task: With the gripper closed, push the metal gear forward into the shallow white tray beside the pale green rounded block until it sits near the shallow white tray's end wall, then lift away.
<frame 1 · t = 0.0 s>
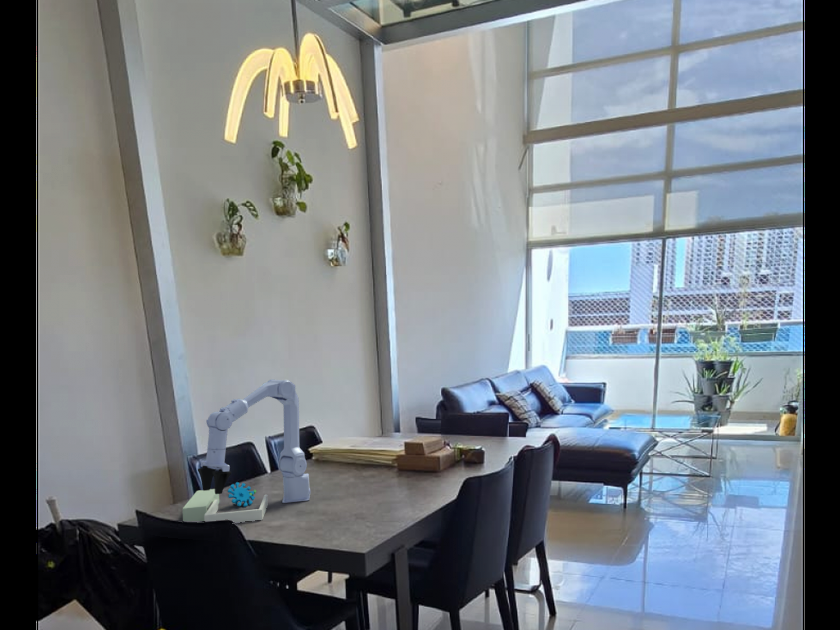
hand: (212, 492, 191), 11 cm above the table, tool pointing down, fingers open, 7 cm apart
pale green rounded block: (202, 512, 205), on the table
gear: (243, 505, 211), on the table
shallow white tray: (238, 514, 200), on the table
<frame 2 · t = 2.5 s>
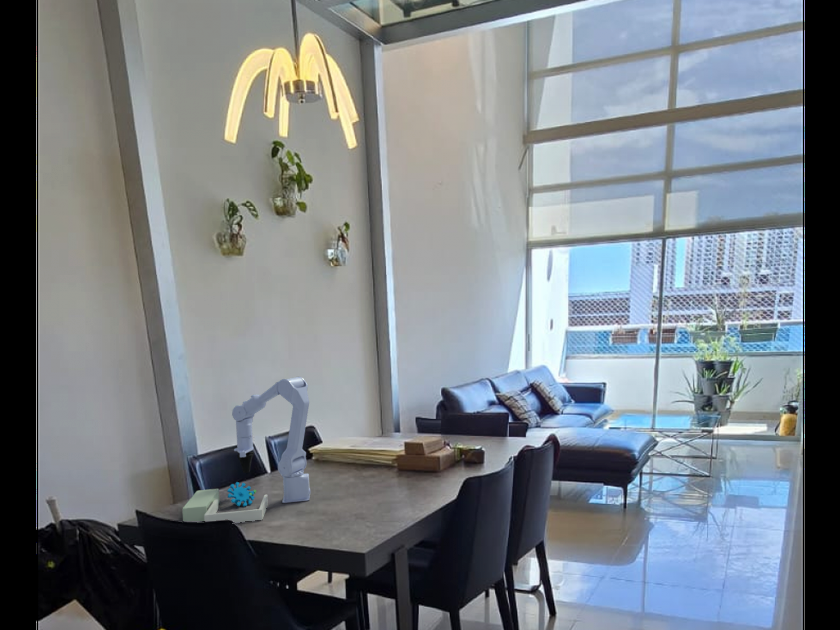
hand: (246, 472, 223), 9 cm above the table, tool pointing down, fingers closed
nothing on the table moved.
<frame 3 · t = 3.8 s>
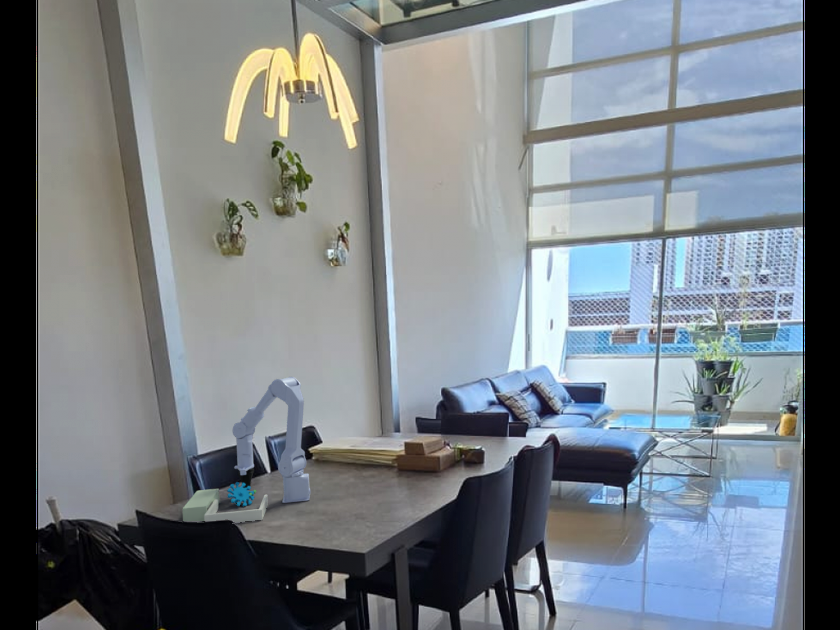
hand: (246, 489, 222), 2 cm above the table, tool pointing down, fingers closed
nothing on the table moved.
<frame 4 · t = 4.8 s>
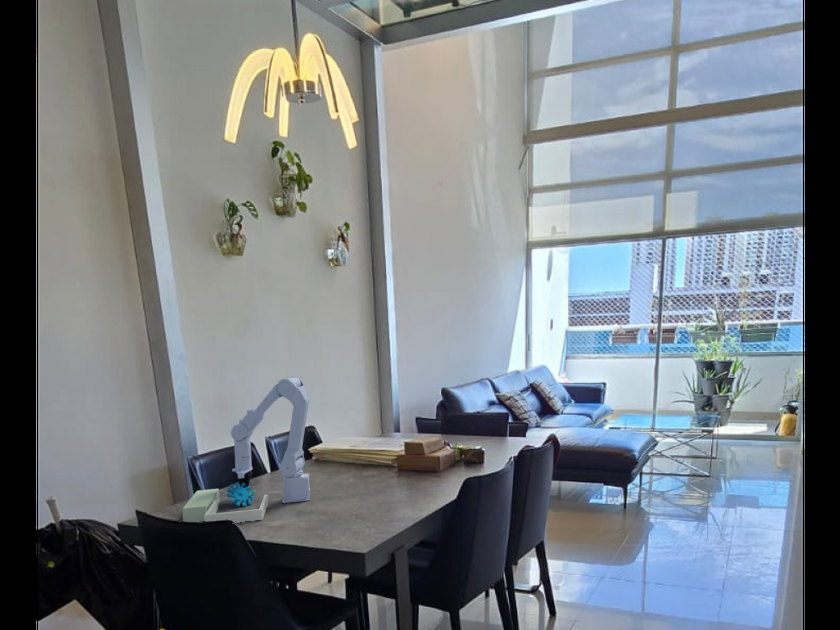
hand: (244, 493, 217), 2 cm above the table, tool pointing down, fingers closed
gear: (242, 505, 212), on the table, touching gripper
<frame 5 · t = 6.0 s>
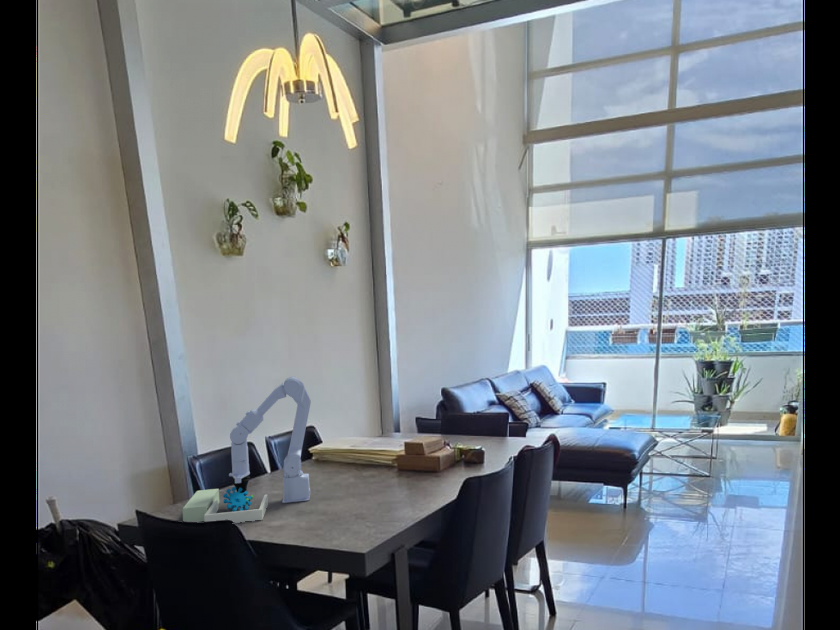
hand: (242, 498, 210), 2 cm above the table, tool pointing down, fingers closed
gear: (239, 510, 205), on the table, touching gripper
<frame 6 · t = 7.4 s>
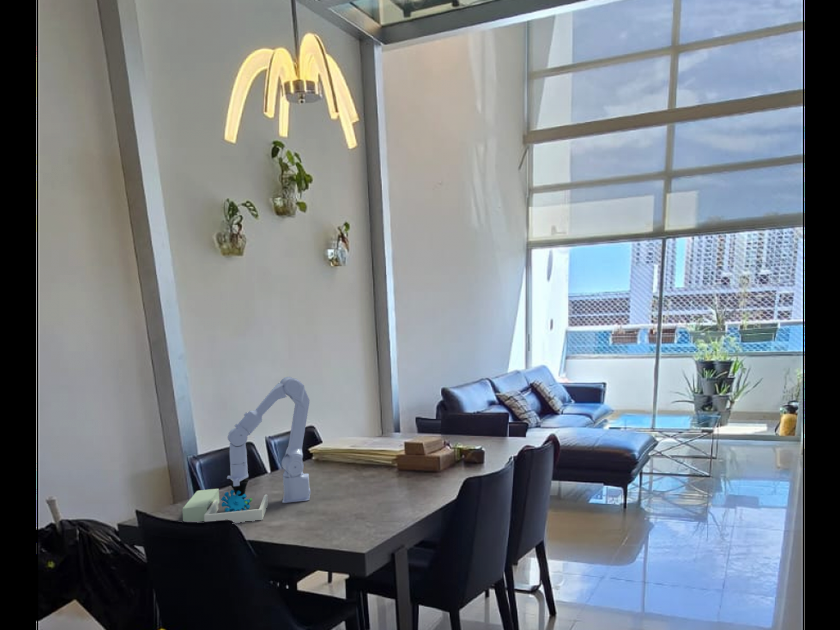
hand: (240, 501, 207), 2 cm above the table, tool pointing down, fingers closed
gear: (237, 514, 201), on the table, touching gripper
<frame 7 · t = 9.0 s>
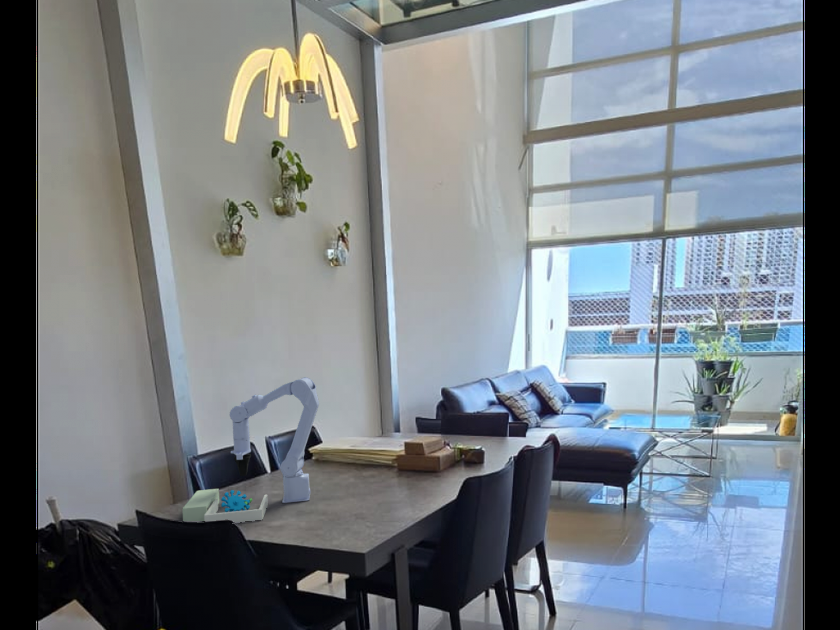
hand: (243, 475, 216), 9 cm above the table, tool pointing down, fingers closed
gear: (237, 514, 201), on the table
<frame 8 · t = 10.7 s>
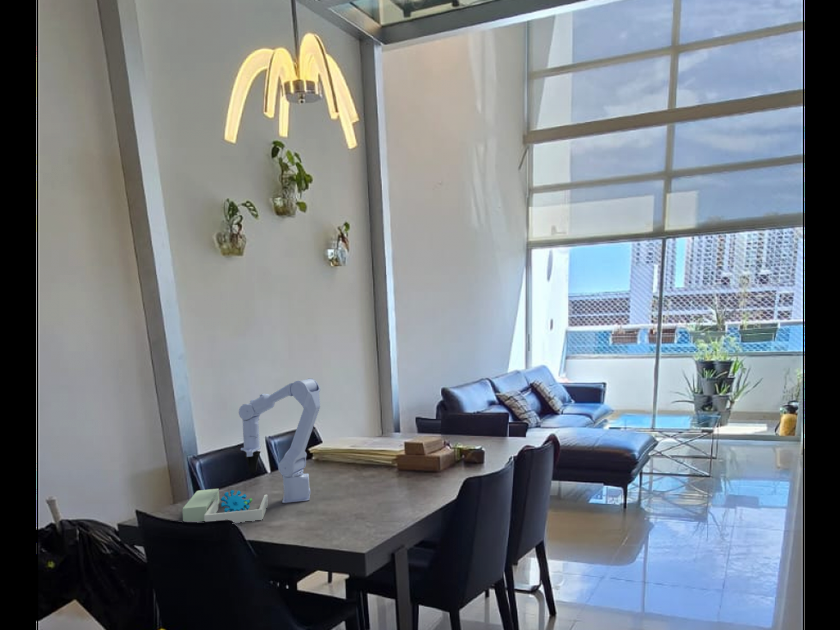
hand: (253, 472, 220), 9 cm above the table, tool pointing down, fingers closed
nothing on the table moved.
at the end: gear inside the target area (2.4 cm from its centre), on the table; gear moved 10.4 cm from its start; gear tilted 0° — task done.
